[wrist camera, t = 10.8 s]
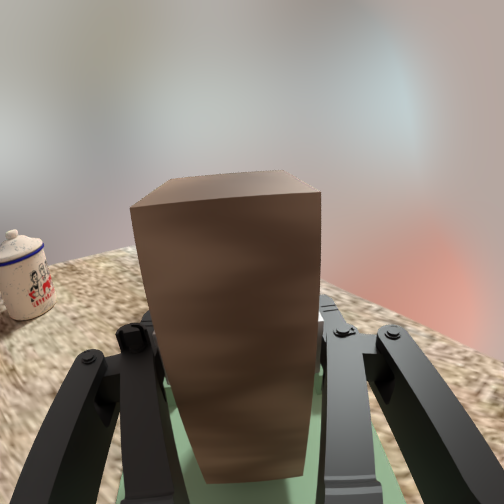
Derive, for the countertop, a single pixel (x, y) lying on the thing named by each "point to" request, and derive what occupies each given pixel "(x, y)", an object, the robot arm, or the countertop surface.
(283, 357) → the walnut block
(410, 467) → the robot arm
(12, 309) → the teacup with lid
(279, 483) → the pad
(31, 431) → the countertop surface
